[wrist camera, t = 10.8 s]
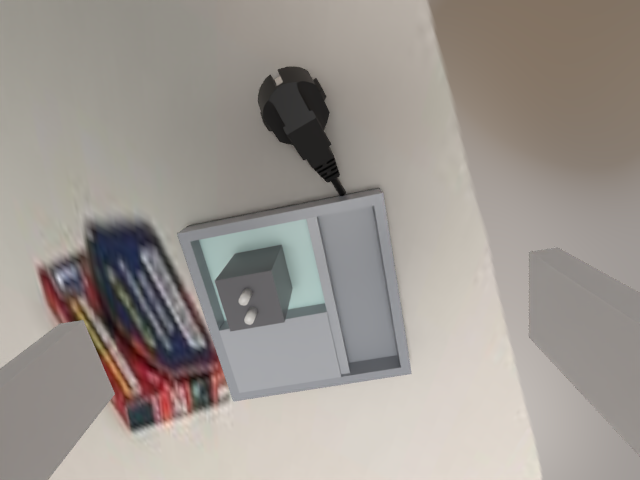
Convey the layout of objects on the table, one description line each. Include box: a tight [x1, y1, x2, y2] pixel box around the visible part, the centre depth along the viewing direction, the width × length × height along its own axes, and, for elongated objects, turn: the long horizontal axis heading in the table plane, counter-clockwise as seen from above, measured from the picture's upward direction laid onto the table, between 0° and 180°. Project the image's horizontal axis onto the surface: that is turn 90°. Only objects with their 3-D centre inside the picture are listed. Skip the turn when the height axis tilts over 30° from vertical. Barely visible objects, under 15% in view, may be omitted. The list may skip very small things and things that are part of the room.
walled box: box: [177, 188, 411, 401], centre depth 38 cm, size 20×20×3 cm
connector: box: [215, 245, 293, 332], centre depth 34 cm, size 5×5×9 cm
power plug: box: [258, 67, 346, 196], centre depth 33 cm, size 6×8×12 cm
